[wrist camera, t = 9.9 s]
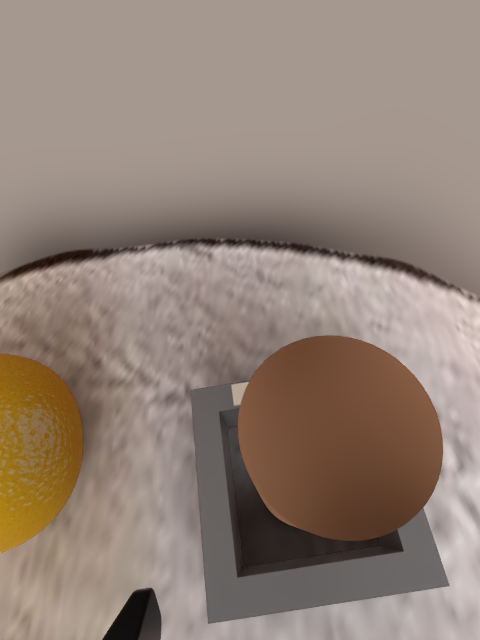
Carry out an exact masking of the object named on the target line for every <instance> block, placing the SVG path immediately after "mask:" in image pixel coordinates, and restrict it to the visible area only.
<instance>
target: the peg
mask: <svg viewBox="0 0 480 640" xmlns="http://www.w3.org/2000/svg"><path fill="white" fill-rule="evenodd" d="M238 440H239V445H240V451H241V455H242V458H243V461H244V464H245V467H246V469H247V471H248V473H249V476H250V478H251V480H252V482H253V484H254V485H255V487H256V489H257V491H258V493H259V495H260V496H261V498H262V500H263V502H264V504H265V505H266V507H267V509H268V510H269V511H270V512H271V513H272V514H273V515H274V516H275V517H276V518H277V519H279V520H280V521H282V522H284V523H286V524H289V525H291V526H294V527H297V528H299V529H302V530H305V531H307V532H310V533H313V534H315V535H318V536H321V537H325V538H329V539H334V540H343V541H360V540H368V539H373V538H377V537H381V536H384V535H386V534H389V533H391V532H393V531H395V530H397V529H399V528H400V527H402V526H404V525H405V524H407V523H408V522H409V521H410V520H411V519H412V518H414V517H415V516H416V515H417V514H418V513H419V512H420V510H421V509H422V508H423V507H424V506H425V505H426V503H427V502H428V500H429V498H430V496H431V495H432V493H433V491H434V489H435V486H436V484H437V481H438V479H439V475H440V471H441V466H442V457H443V441H442V433H441V428H440V423H439V420H438V417H437V413H436V410H435V408H434V406H433V404H432V402H431V399H430V397H429V396H428V394H427V393H426V391H425V389H424V388H423V386H422V385H421V383H420V382H419V381H418V380H417V378H416V377H415V376H414V375H413V374H412V373H411V372H410V371H409V370H408V369H407V368H406V366H404V365H403V364H402V363H401V362H400V361H398V360H397V359H396V358H395V357H393V356H391V355H390V354H388V353H387V352H385V351H384V350H382V349H380V348H378V347H376V346H374V345H372V344H369V343H366V342H364V341H361V340H357V339H353V338H349V337H342V336H316V337H311V338H306V339H302V340H299V341H296V342H293V343H291V344H289V345H287V346H285V347H283V348H281V349H280V350H278V351H277V352H275V353H274V354H272V355H271V356H270V357H269V358H268V359H267V360H265V361H264V362H263V363H262V365H261V366H260V367H259V368H258V369H257V370H256V372H255V373H254V375H253V376H252V378H251V379H250V381H249V383H248V385H247V387H246V389H245V392H244V394H243V397H242V400H241V404H240V409H239V415H238Z"/></svg>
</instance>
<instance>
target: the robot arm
mask: <svg viewBox="0 0 480 640" xmlns="http://www.w3.org/2000/svg"><path fill="white" fill-rule="evenodd" d="M160 639H161V613H160V610H159V606H158V603H157V599H156V596H155V592H154V590H153V589H152V588H145V589H139V590H136V591H134V592H133V593H132V595H131V596H130V598H129V599H128V601H127V602H126V604H125V605H124V607H123V608H122V610H121V611H120V613H119V615H118V616H117V618H116V619H115V621H114V622H113V624H112V625H111V627H110V628H109V630H108V631H107V633H106V635H105V636H104V638H103V639H102V640H160Z"/></svg>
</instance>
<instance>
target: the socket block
mask: <svg viewBox="0 0 480 640" xmlns="http://www.w3.org/2000/svg"><path fill="white" fill-rule="evenodd" d="M248 383H249V381H245V382H238V383H232V384H226V385H219V386H213V387H207V388H200V389H194V390H191V402H192V415H193V428H194V442H195V455H196V468H197V482H198V495H199V508H200V522H201V535H202V548H203V562H204V575H205V588H206V602H207V615H208V624H210V623H216V622H222V621H229V620H235V619H242V618H248V617H254V616H261V615H267V614H274V613H280V612H286V611H293V610H299V609H305V608H312V607H318V606H325V605H331V604H337V603H344V602H350V601H357V600H363V599H369V598H376V597H382V596H389V595H395V594H401V593H408V592H414V591H421V590H427V589H433V588H440V587H446V586H449V583H448V580H447V577H446V574H445V571H444V568H443V565H442V562H441V559H440V556H439V553H438V550H437V547H436V544H435V541H434V538H433V535H432V532H431V529H430V527H429V524H428V521H427V518H426V515H425V512H424V509H423V508H422V509H421V510H420V512H419V513H418V514H417V515H416V516H415V517H414V518H412V519H411V520H410V521H409V522H408V523H407V524H405V525H404V526H402V527H400V528H399V529H397V530H395V531H393V532H391V533H389V534H386V535H384V536H381V537H378V538H379V541H380V545H381V546H376V547H370V548H363V549H357V550H351V551H344V552H338V553H332V554H325V555H319V556H312V557H306V558H300V559H293V560H287V561H281V562H274V563H268V564H261V565H255V566H249V567H243V559H242V551H241V542H240V534H239V525H238V517H237V508H236V500H235V491H234V483H233V475H232V466H231V458H230V449H229V441H228V432H227V428H228V427H234V426H238V415H239V409H240V404H241V400H242V397H243V394H244V392H245V389H246V387H247V385H248Z"/></svg>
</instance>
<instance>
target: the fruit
mask: <svg viewBox="0 0 480 640" xmlns="http://www.w3.org/2000/svg"><path fill="white" fill-rule="evenodd" d="M82 451H83V435H82V425H81V418H80V414H79V410H78V407H77V404H76V401H75V399H74V397H73V395H72V393H71V391H70V389H69V388H68V387H67V385H66V384H65V383H64V381H63V380H62V379H61V378H60V377H59V376H58V375H57V374H56V373H55V372H53V371H52V370H51V369H49V368H48V367H46V366H44V365H43V364H41V363H39V362H36V361H34V360H31V359H28V358H25V357H20V356H16V355H9V354H0V553H3V552H5V551H7V550H10V549H12V548H14V547H16V546H18V545H20V544H22V543H24V542H25V541H27V540H29V539H30V538H32V537H33V536H35V535H36V534H37V533H39V532H40V531H41V530H43V529H44V528H45V527H46V526H47V525H48V524H49V523H50V522H51V521H52V520H53V519H54V518H55V517H56V516H57V515H58V513H59V512H60V511H61V509H62V508H63V506H64V505H65V504H66V502H67V500H68V499H69V497H70V495H71V493H72V491H73V489H74V486H75V484H76V481H77V478H78V474H79V471H80V466H81V460H82Z"/></svg>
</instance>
